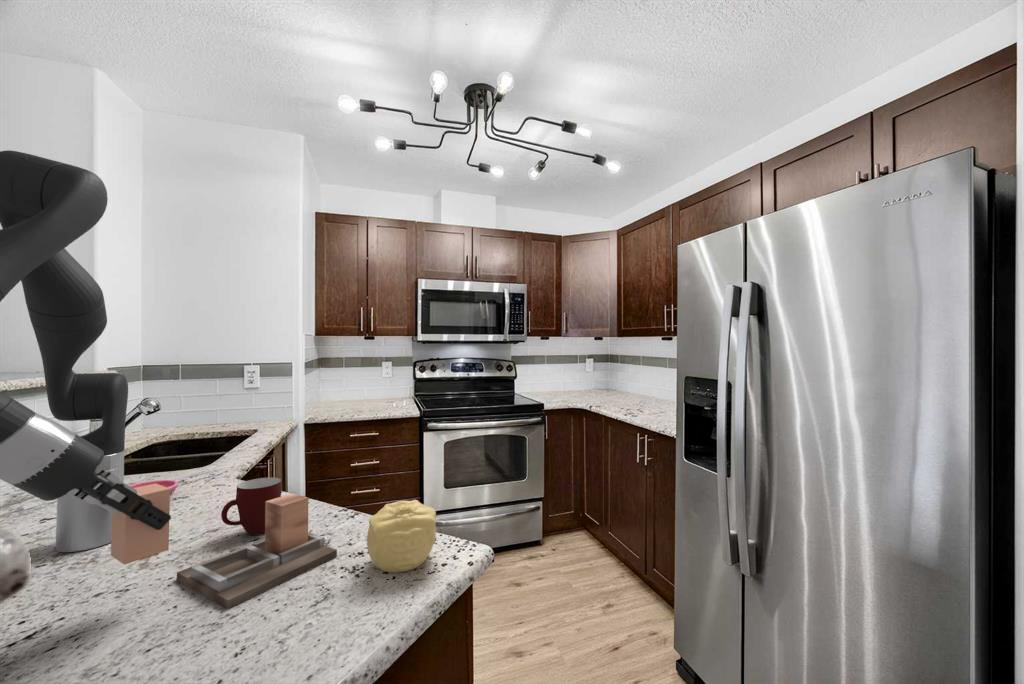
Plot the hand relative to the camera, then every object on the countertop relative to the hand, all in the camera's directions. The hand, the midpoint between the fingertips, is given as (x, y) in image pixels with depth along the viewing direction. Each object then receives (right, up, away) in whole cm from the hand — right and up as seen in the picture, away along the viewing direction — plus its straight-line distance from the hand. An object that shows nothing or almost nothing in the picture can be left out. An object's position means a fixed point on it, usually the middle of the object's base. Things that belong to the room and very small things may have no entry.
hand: (156, 519), depth 62 cm
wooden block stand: (+10, -12, +9) cm, 18 cm away
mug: (0, -13, +23) cm, 26 cm away
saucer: (-42, -15, +46) cm, 64 cm away
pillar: (-1, -4, -2) cm, 5 cm away
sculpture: (+34, -12, +10) cm, 38 cm away
